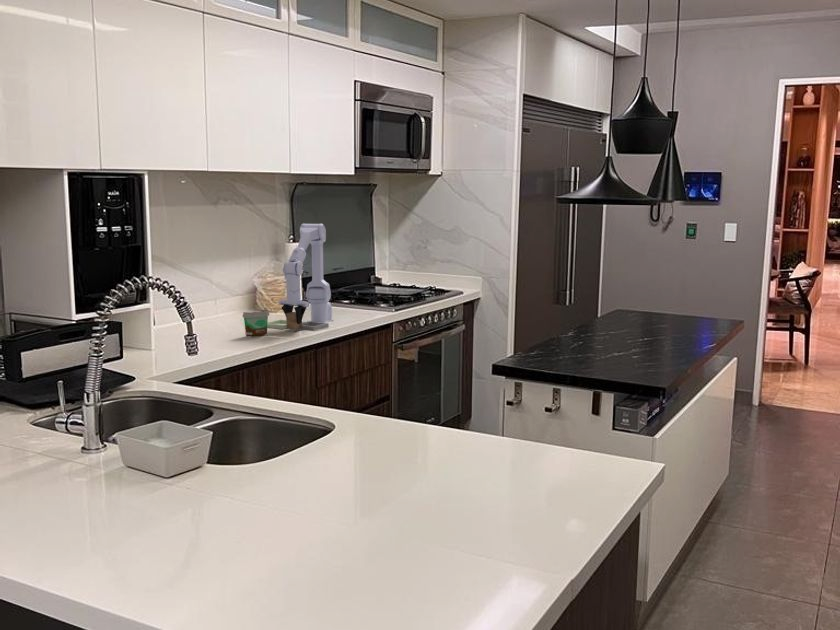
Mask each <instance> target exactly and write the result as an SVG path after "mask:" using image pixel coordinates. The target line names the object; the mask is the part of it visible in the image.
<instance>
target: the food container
mask: <svg viewBox="0 0 840 630" xmlns="http://www.w3.org/2000/svg"><path fill="white" fill-rule="evenodd" d="M269 316H270V312H269V310H268V308H264V309H263V310H262V311H252V312H250V311H249V312H247V311H246V312H245V311H243V314H242V318H243V322H244V323H243V324H244V330H245V336H246V337H248V336H251V337H250V338H254V337H255V338H256V337H258V338H259V337H264V336H265V337H266V334H268V327H267V323H268V322H269V321H268V317H269Z"/></svg>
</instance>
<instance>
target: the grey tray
mask: <svg viewBox="0 0 840 630" xmlns="http://www.w3.org/2000/svg"><path fill="white" fill-rule="evenodd" d="M327 328H329V322H323V323H321V322H307V321H306V322H302V328H300V329H303V330H304V331H305V330H307V331H315V332H318V331H319V330H320V331H322V330H323V329H325V330H326V329H327Z"/></svg>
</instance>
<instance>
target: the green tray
mask: <svg viewBox="0 0 840 630" xmlns="http://www.w3.org/2000/svg"><path fill="white" fill-rule="evenodd" d="M268 328H269V329H279V330H280V329H281V330H288V329H287V322H286V319H282V318H281V319H276V320H271V321H268V323H267V329H268Z"/></svg>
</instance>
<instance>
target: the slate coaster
mask: <svg viewBox="0 0 840 630" xmlns="http://www.w3.org/2000/svg"><path fill="white" fill-rule="evenodd" d="M303 331H304V329H296V330H294V329H284V332H288V333H289V332H291V333H298V332H303Z"/></svg>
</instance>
